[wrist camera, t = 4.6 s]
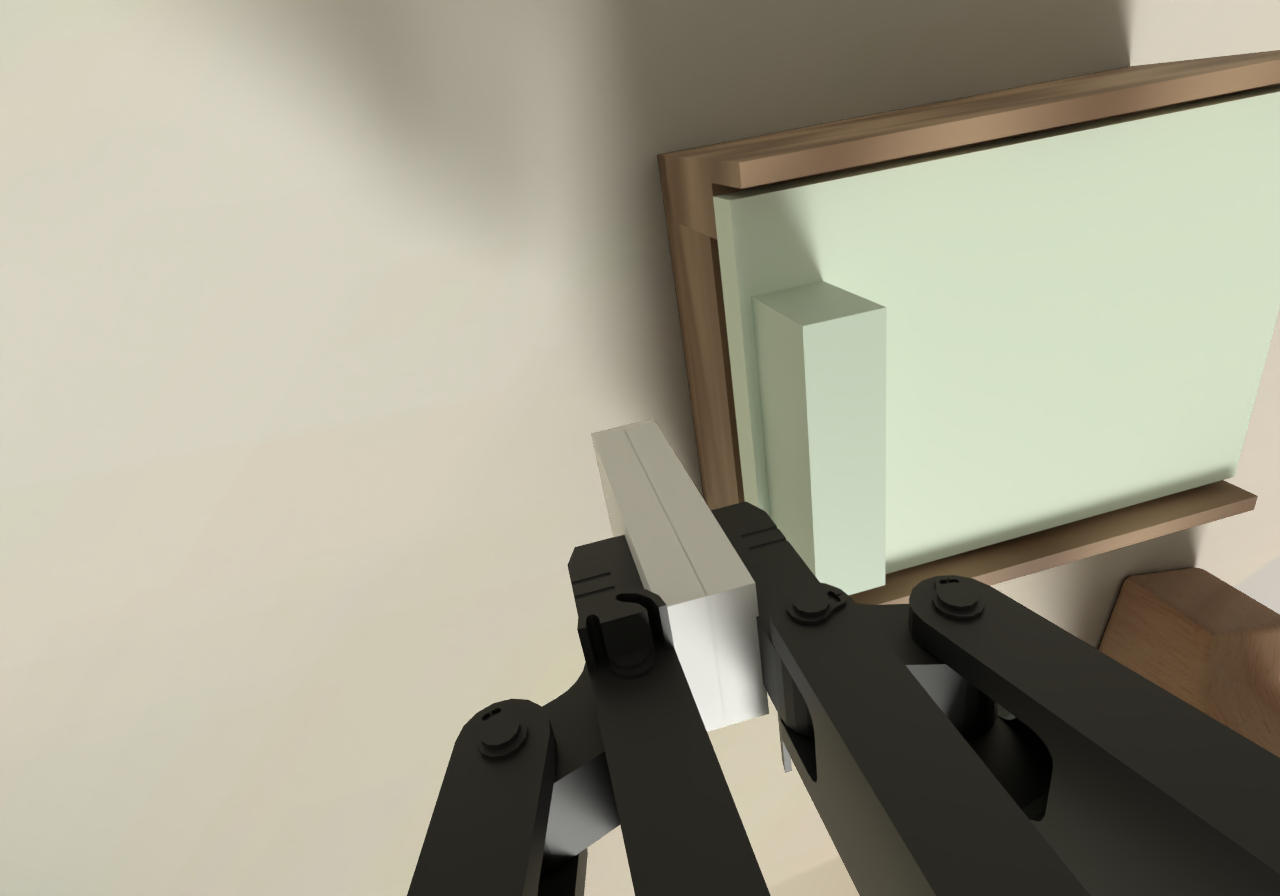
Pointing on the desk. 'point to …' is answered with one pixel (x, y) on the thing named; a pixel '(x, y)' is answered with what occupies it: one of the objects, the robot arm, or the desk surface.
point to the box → (894, 138)
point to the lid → (1002, 331)
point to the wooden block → (1202, 647)
